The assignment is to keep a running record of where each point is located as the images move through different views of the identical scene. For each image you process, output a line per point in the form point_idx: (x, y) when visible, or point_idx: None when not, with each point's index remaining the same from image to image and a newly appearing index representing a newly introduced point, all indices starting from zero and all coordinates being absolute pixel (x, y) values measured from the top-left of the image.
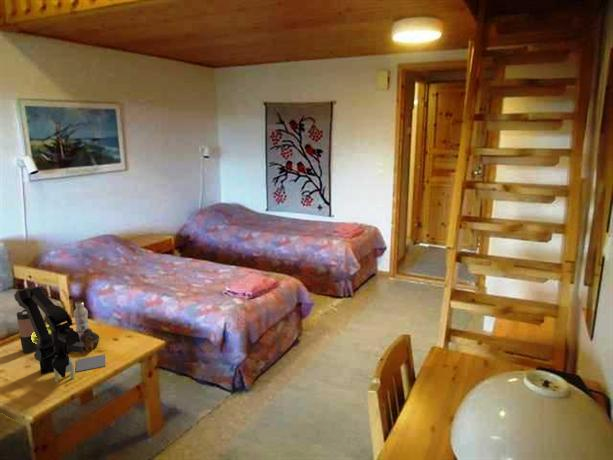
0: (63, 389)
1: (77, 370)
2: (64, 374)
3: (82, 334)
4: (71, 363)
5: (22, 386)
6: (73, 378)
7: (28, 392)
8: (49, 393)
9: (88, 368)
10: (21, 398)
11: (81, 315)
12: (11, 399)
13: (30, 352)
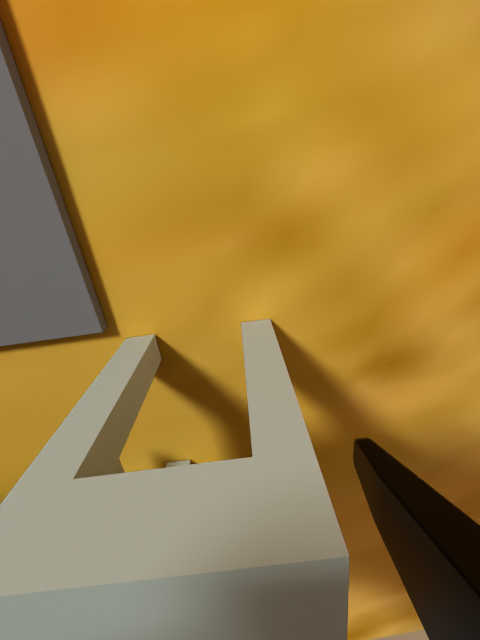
0: (473, 375)
1: (76, 317)
2: (409, 479)
3: None
4: (319, 573)
5: None
6: (269, 325)
7: (365, 575)
8: (472, 465)
9: (21, 158)
10: None
11: None
12: (407, 618)
13: None
